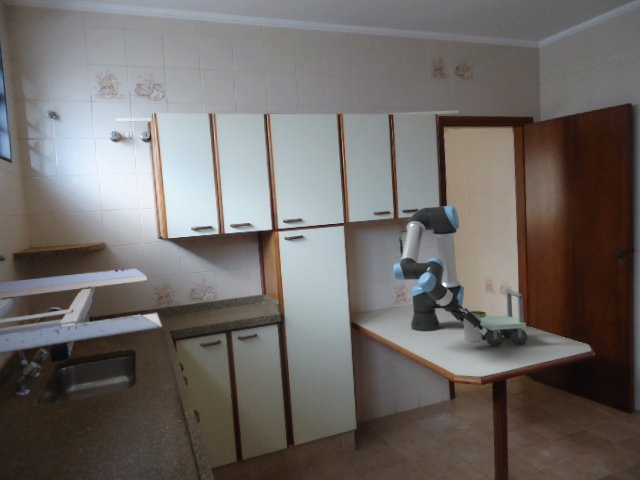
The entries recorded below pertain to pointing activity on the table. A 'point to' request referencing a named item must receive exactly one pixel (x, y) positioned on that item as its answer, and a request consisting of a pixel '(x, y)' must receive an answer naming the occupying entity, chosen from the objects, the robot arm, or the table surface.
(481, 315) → the plant pot
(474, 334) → the can
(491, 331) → the trolley
